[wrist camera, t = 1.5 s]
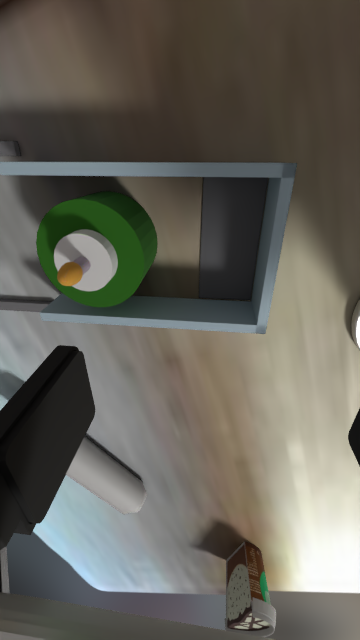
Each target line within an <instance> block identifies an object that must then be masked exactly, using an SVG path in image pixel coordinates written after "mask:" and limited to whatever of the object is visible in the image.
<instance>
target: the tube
mask: <svg viewBox="0 0 360 640" xmlns="http://www.w3.org/2000/svg"><path fill="white" fill-rule="evenodd" d="M66 475H67V476H69V477H70V478H72V479H73V480H74V481H76V482H77V483H79V484H80V485H82V486H83V487H85V488H86V489H87V490H89V491H90V492H92V493H93V494H95V495H96V496H98V497H99V498H100V499H102V500H103V501H105V502H106V503H108V504H109V505H111V506H112V507H113V508H115V509H116V510H118V511H119V512H121V513H122V514H128V513H133V512H139V510H140V509H141V507H142V505H143V503H144V501H145V499H146V496H147V493H146V490H145V488H144V485H143V483H142V481H141V480H140V479H138V478H137V477H136V476H135V475H133V474H132V473H131V472H129V471H128V470H127V469H126V468H124V467H123V466H122V465H121V464H119V463H118V462H117V461H116V460H114V459H113V458H112V457H110V456H109V455H108V454H107V453H105V452H104V451H103V450H102V449H100V448H99V447H98V446H96V445H95V444H94V443H93V442H91V441H90V440H89V439H88V438H86V437H85V436H84V438H83V440H82V442H81V445H80V447H79V449H78V451H77V453H76V455H75V457H74V459H73V461H72V463H71V465H70V467H69V469H68V471H67V473H66Z"/></svg>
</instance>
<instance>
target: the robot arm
mask: <svg viewBox="0 0 360 640" xmlns="http://www.w3.org/2000/svg"><path fill="white" fill-rule="evenodd" d="M351 329H352V336H353V339H354V342H355V344H356V345H357V347H358V348H359V350H360V299H359V301H358V303H357V305H356V307H355V310H354V312H353V317H352V322H351ZM94 415H95V405H94V401H93V396H92V391H91V387H90V382H89V378H88V373H87V369H86V364H85V359H84V355H83V353H82V352H81V351H79V350H78V348H77V347H75V346H61V345H60V346H57V347H56V348H55V349H54V350H53V351H52V353H51V354H50V355H49V356H48V357H47V358H46V359H45V361H44V362H43V363H42V364H41V365H40V366H39V367H38V369H37V370H36V371H35V372H34V373H33V374H32V375H31V376H30V378H29V379H28V380H27V381H26V382H25V383H24V384H23V386H22V387H21V388H20V389H19V390H18V391H17V392H16V394H15V395H14V396H13V397H12V398H11V399H10V400H9V401H8V403H7V404H6V405H5V406H4V407H3V408H2V409H1V411H0V640H275V639H270V638H264V637H259V636H253V635H247V634H242V633H236V632H231V631H225V630H219V629H213V628H208V627H203V626H197V625H191V624H186V623H180V622H174V621H169V620H163V619H158V618H152V617H146V616H140V615H135V614H128V613H123V612H117V611H112V610H106V609H100V608H94V607H88V606H82V605H77V604H71V603H65V602H59V601H54V600H48V599H42V598H36V597H30V596H23V595H16V594H9V580H8V565H7V552H6V546H7V544H8V542H9V540H10V538H11V537H12V535H13V533H20V534H27V535H31V533H32V531H33V529H34V527H35V525H36V523H40V522H42V520H43V519H44V517H45V516H46V514H47V512H48V510H49V508H50V506H51V503H52V501H53V499H54V497H55V495H56V493H57V491H58V489H59V487H60V485H61V483H62V481H63V479H64V477H65V475H66V473H67V471H68V469H69V467H70V465H71V463H72V461H73V459H74V457H75V455H76V453H77V451H78V449H79V447H80V445H81V442H82V440H83V438H84V436H85V434H86V432H87V430H88V428H89V426H90V424H91V422H92V420H93V418H94ZM348 439H349V444H350V446H351V448H352V450H353V453H354V455H355V457H356V459H357V461H358V464H359V466H360V409H359V411H358V413H357V415H356V418H355V420H354V422H353V424H352V427H351V429H350V431H349V435H348Z"/></svg>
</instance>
